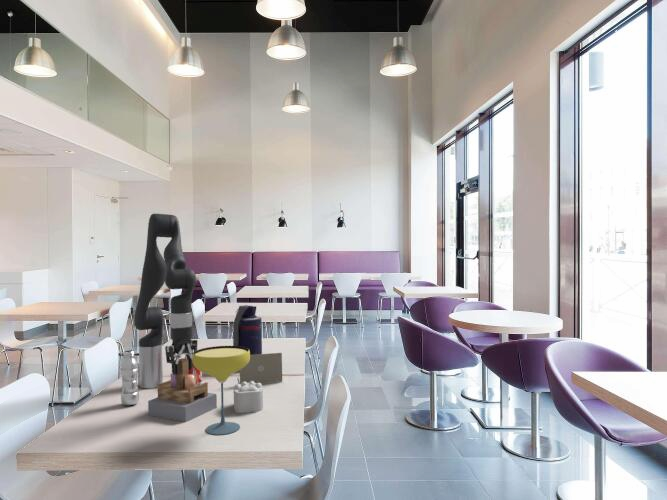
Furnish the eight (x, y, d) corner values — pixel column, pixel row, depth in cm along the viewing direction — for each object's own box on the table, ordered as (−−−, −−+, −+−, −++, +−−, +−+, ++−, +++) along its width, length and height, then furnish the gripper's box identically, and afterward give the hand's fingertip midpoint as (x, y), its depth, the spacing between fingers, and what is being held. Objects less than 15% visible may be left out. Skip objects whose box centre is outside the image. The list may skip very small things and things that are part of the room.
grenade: (253, 363, 249) (252, 303, 248) (267, 368, 240) (266, 305, 239) (228, 369, 239) (227, 306, 239) (242, 373, 231) (241, 308, 230)
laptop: (278, 375, 227) (277, 347, 227) (282, 383, 215) (281, 352, 215) (237, 379, 222) (237, 349, 222) (239, 386, 210) (239, 355, 210)
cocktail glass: (254, 435, 155) (253, 354, 155) (194, 442, 150) (192, 359, 150) (247, 416, 173) (246, 343, 172) (193, 422, 167) (191, 347, 167)
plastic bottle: (121, 408, 183) (120, 354, 183) (120, 403, 189) (118, 350, 189) (140, 405, 186) (139, 351, 186) (138, 400, 192) (137, 348, 192)
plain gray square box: (148, 415, 176) (148, 400, 176) (181, 401, 190) (180, 388, 190) (185, 421, 168) (185, 407, 168) (216, 407, 183) (216, 393, 182)
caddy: (157, 398, 178) (156, 360, 178) (175, 391, 186) (175, 355, 186) (190, 403, 172) (189, 364, 172) (207, 396, 180) (207, 358, 180)
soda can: (181, 385, 212) (180, 354, 212) (192, 381, 219) (191, 351, 219) (195, 387, 210) (194, 356, 210) (205, 382, 216) (205, 352, 216)
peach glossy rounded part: (182, 389, 177) (182, 376, 177) (189, 386, 180) (189, 374, 180) (189, 390, 175) (189, 377, 175) (196, 387, 178) (196, 375, 178)
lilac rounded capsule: (168, 387, 180) (168, 374, 180) (175, 384, 183) (175, 372, 183) (176, 388, 178) (176, 375, 178) (182, 385, 181) (182, 373, 181)
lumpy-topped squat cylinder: (233, 413, 176) (233, 389, 176) (234, 402, 188) (233, 379, 188) (263, 411, 178) (263, 387, 178) (262, 400, 190) (261, 377, 190)
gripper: (187, 321, 187) (188, 366, 187) (158, 327, 174) (159, 375, 174) (203, 322, 184) (204, 368, 184) (174, 329, 171) (175, 378, 171)
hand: (182, 371), depth 179 cm, fingers open, 6 cm apart
